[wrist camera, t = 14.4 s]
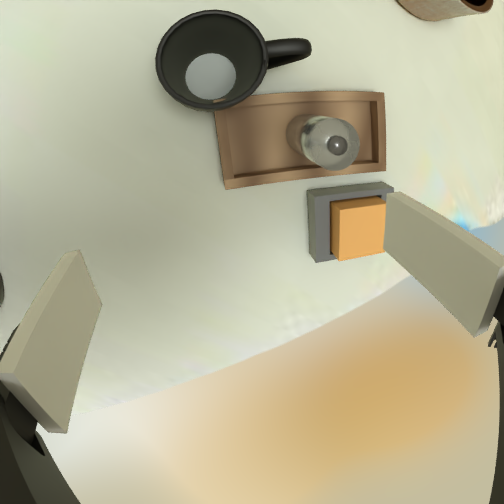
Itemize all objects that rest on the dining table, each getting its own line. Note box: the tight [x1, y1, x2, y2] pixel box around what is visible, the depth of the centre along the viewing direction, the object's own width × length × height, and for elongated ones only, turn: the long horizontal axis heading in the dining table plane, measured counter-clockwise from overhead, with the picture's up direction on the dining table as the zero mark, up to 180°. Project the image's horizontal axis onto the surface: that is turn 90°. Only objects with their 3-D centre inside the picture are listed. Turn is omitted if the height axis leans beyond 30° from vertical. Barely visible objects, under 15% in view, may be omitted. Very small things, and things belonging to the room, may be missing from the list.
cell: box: [286, 114, 360, 171], centre depth 26 cm, size 4×4×9 cm
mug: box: [155, 10, 312, 112], centre depth 23 cm, size 8×12×10 cm
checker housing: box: [307, 182, 394, 263], centre depth 35 cm, size 10×8×2 cm
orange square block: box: [329, 196, 386, 261], centre depth 33 cm, size 6×6×3 cm
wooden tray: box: [213, 91, 386, 190], centre depth 29 cm, size 18×9×2 cm, turn 96°
